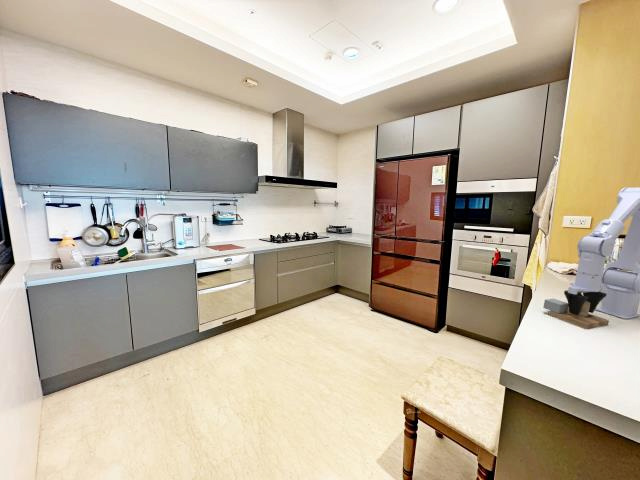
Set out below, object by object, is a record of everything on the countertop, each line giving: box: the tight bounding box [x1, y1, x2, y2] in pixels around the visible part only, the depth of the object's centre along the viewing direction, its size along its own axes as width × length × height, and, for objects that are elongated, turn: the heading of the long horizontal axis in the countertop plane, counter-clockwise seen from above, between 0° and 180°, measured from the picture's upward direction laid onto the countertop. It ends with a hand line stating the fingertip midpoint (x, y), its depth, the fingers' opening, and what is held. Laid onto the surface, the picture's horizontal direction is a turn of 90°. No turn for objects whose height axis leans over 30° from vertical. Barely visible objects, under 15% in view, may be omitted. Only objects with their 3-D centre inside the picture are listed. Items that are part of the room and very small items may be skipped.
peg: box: [579, 301, 590, 318], centre depth 85 cm, size 3×3×6 cm
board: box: [548, 307, 610, 330], centre depth 84 cm, size 11×10×2 cm
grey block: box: [543, 298, 569, 313], centre depth 87 cm, size 4×4×3 cm
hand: (581, 312), depth 85 cm, fingers open, 7 cm apart
